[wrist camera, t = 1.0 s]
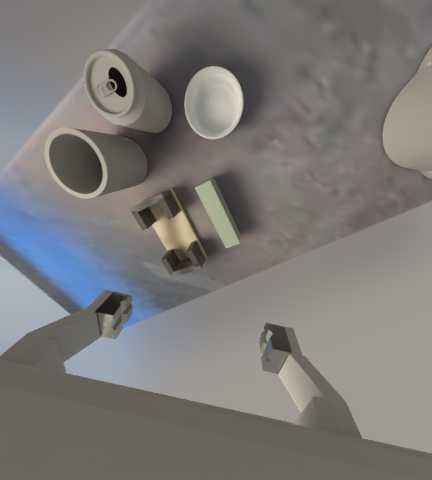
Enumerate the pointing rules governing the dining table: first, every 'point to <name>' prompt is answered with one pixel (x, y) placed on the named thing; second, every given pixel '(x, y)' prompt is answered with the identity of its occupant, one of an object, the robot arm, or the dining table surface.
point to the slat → (218, 212)
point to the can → (126, 92)
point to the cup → (93, 162)
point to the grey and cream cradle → (171, 232)
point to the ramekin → (213, 102)
